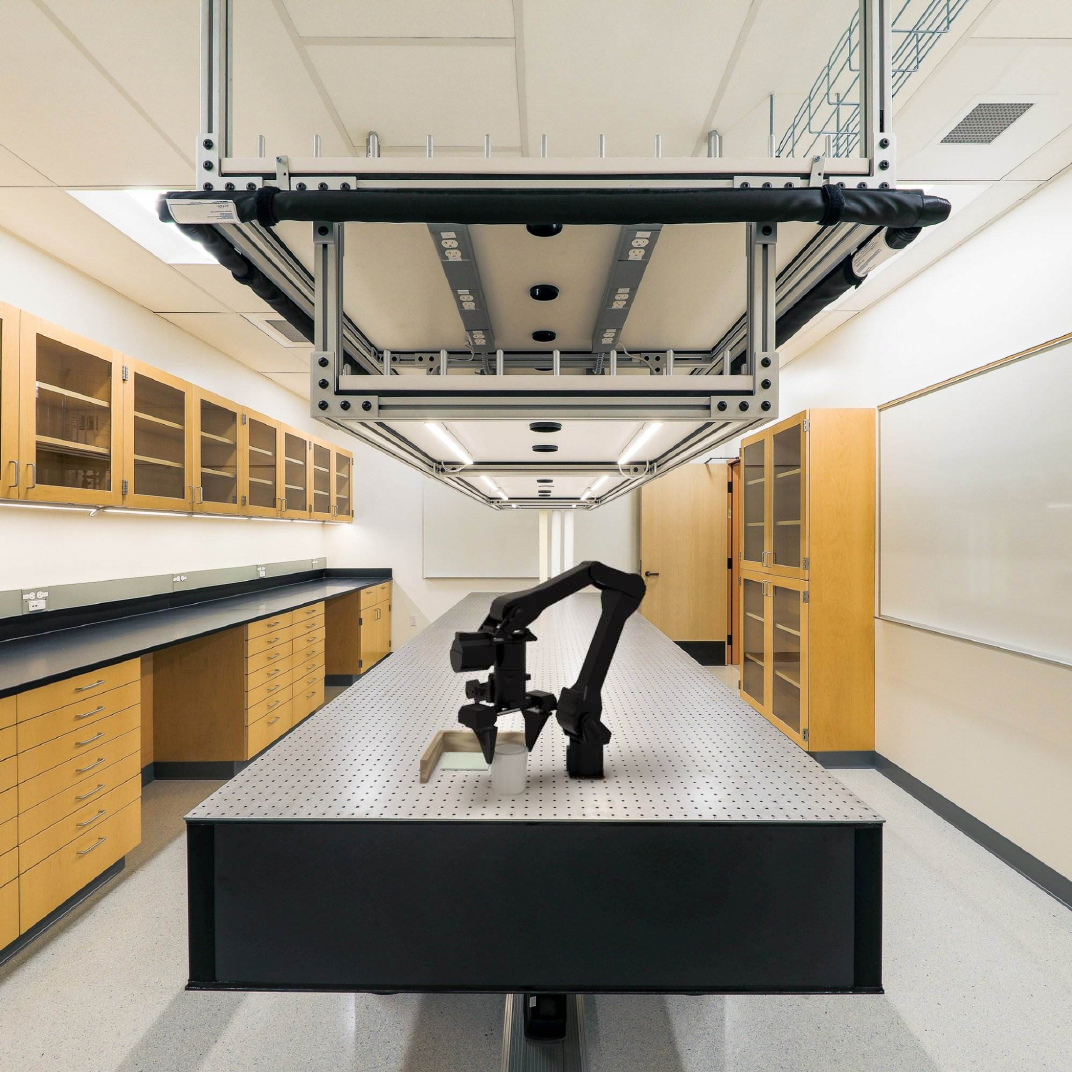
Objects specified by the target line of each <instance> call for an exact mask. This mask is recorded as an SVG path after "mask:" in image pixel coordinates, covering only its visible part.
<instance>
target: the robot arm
mask: <svg viewBox="0 0 1072 1072" xmlns="http://www.w3.org/2000/svg"><path fill="white" fill-rule="evenodd" d="M588 586H592V587H593V588H595V589H597V590H600V591H601V593H600V604H601V615H600V616H599V620H598V622H597V625H596V627H595V630H594V633H593V636H592V639H591V642H590V644H589V646H588V650H587V653H586V655H585V658H584V661H583V663H582V666H581V669H580V671H579V674H578V677H577V679H576V680H575V682H574V684H573V685H571V686H570V688H569V687H566V686H562V689H560V694H559V698H557V697H556V695H555V693H552V692H548V691H545V690H540V689H535V690H529V691H527V682H528V681H531V680H532V674H531V673H527V643H529V642H530V643H531V642H537V641H538V639H539V638H538V637H537V636H536V635H535V634H534V633H533V632H532V631H531V629H530V628H529V627H528V626H529V625H531V624H532V623H533V622H535V621H536V620H537V619H538V618H539V617H540V615H541V614H542V613H543V612H544V611H545V610H547V608H549V607H550V606H552V605H554V604H556V603H559V602H560V601H562V600H564V599H566V598H569V597H570V596H571V595H573V594H575V593H578V592H580V591H581V590H583V589H585V588H587V587H588ZM646 593H647V585H646V582H645V580H644V578H643V576H641V575H640V574H639V573H636V572H626V571H623V570H620V569H617V568H614V567H612V566H609V565H607V564H604V563H602V562H601V561H599V560H583V561H581V562H580V563H579V564H577V565H576V566H573V567H572V568H570V569H568V570H565V571H564V572H562V573H559V574H558V575H555V576H553V577H551V578H550V579H548V580H546V581H544V582H542V583H540V584H538V585H536V586H534V587H531V588H528V589H523V590H518V591H514V592H510V593H506V594H501V595H498V596H497V597H496V598H494V599H493V600H492V601H491V604H490V607H489V613H488V614H487V615H486V617H485V619H484V620H483V621H482V623H481V624H480V626H479V627H478V629H477V631H455V632H454V639H453V640H452V643H451V648H450V649H449V662H450V666H451V669H452V671H453V672H454V673H455V674H460V673H471V672H473V673H474V672H479V671H480V672H481V671H482V672H483V671H489V670H490V668H492V667H493V672H489V673H488V675H487V681H484V682H480V681H479V679H478V678H475V679H470V680H466V681H465V687H464V692H465V693H464V694H465V697H466V699H467V700H472V699H473V701H474V703H469V704H465V705H461V706H460V707H459V709H458V711H457V723H459V724H461V725H464V727H466V728H468V729H471V731H474V733H475V734H476V736H477V738H478V741H479V743H480V746H481V749H482V752H481V753H483V755H484V758H485V761H486V763H487V764H489V766H490V764H492V761H493V757H494V752H495V745H496V738H497V732H498V731H499V726H496V722H497V721H498V717H500V716H505V715H509V714H514V713H517V712H520V713H521V716H522V717H523V720H524V732H525V746H527V748H528V753H531V752H532V751H533V750H534V747H535V745H536V743H537V740H538V738H539V737H540V735H541V732H542V730H543V729H544V727H545V725H546V723H547V721H548V720H549V719H550V717H551V716H553V711H555V720H556V722H557V724H558V725H559V727H561V728H562V732H563V734H564V736H566V737H568V738H569V740H568V741H569V742H568V744H567V745H566V746H565V770H566V772H567V773H568V778H569V779H588V780H589V779H593V780H594V779H595V780H596V779H597V780H601V779H602V780H603V779H605V778H606V776H605V771H604V746H605V745H609V744H610V742H611V737H612V735H613V734H612V731H611V730H610V729H609V728H608V726H606V725H605V724H604V723H603V721H601V718H602V713H603V699H602V689H603V687H604V684H605V680H606V679H607V674H608V672H609V670H610V667H611V664H612V661H613V658H614V656H615V652H616V649H617V647H618V644H619V641H620V639H621V636H622V633H623V630H624V627H625V625H626V622H627V620H628V619H629V618H630V617H631V616H632V615H634V613H635V612H636V611H637V610H638V609H639V607H640V605H641V603H642V602H643V600H644V597H645V596H646ZM484 701H485V703H487V704H493V705H487V704H483V703H481V702H484Z"/></svg>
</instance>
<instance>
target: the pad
mask: <svg viewBox="0 0 1072 1072" xmlns="http://www.w3.org/2000/svg"><path fill="white" fill-rule="evenodd" d="M489 768H490V765H489V764H487V763H486V761H485V758H484V755H483V752H447V755H446V757H445V759H444V761H443V762H442V765H441V766H440V770H441V771H481V772H482V771H487V772H488V771H489Z"/></svg>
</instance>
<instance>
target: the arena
mask: <svg viewBox="0 0 1072 1072" xmlns="http://www.w3.org/2000/svg"><path fill="white" fill-rule="evenodd" d="M501 743H517V744H522V745H525V731H518V730H517V731H515V730H513V731H508V730H507V731H505V730H503V731H501V730H500V731H499V730H498V732H497V738H496V745H497V744H501ZM444 752H445V753H446V752H447V753H483V752H482V749H481V746H480V743H479V741H478V738H477V736H476V734H475V733H474V731H473V730H450V729H449V730H442V729H440V730H438V731H437V733H436V734H435V736H434V738H433V739H432V741H431V742H430V744H429V746H428V747H427V749H426V750H425V752H424V753H423V755H422V757H421V758H420V760H419V765H420V766H419V783H420V784H424V783H425V784H427V783H428V782H429V780H430V777H431V775H432V774H433V772H434V770H435V768H436V766H437V764H438V763H439V760H440V759H441V757H442V756H443V753H444Z"/></svg>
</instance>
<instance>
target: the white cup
mask: <svg viewBox="0 0 1072 1072" xmlns="http://www.w3.org/2000/svg"><path fill="white" fill-rule="evenodd" d="M528 756H529V752H528V748H527V746H525V745H522V744H517V743H501V744H497V745H495V752H494V757H493V761H492V764H490V765H489V767H490V774H491V775H490V777H491V787H492V789H491V790H492V791H493V793H495V794H497V795H501V796H514V795H515V796H516V795H519V794H521V793H523V792H524V791H525V788H526V786H525V785H526V780H527V779H526V777H527V766H528Z"/></svg>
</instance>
